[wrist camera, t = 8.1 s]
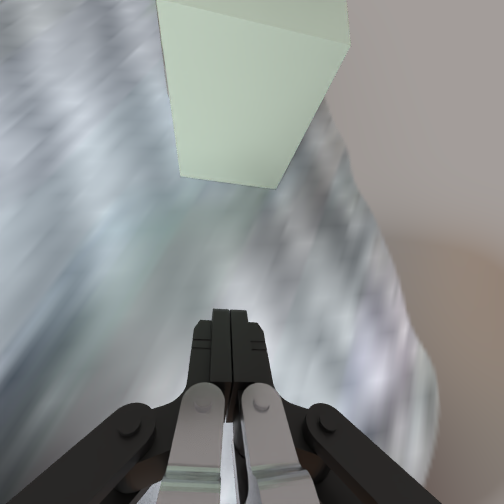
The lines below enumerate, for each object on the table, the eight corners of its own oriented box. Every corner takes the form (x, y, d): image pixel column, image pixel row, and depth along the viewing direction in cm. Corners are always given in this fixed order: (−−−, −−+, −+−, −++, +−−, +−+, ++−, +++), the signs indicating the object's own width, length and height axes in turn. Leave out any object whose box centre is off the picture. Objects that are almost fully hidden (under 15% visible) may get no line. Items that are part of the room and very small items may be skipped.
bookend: (180, 176, 21) (155, -2, 10) (184, 145, 22) (167, -50, 11) (275, 189, 22) (351, 45, 11) (276, 160, 23) (346, -2, 12)
